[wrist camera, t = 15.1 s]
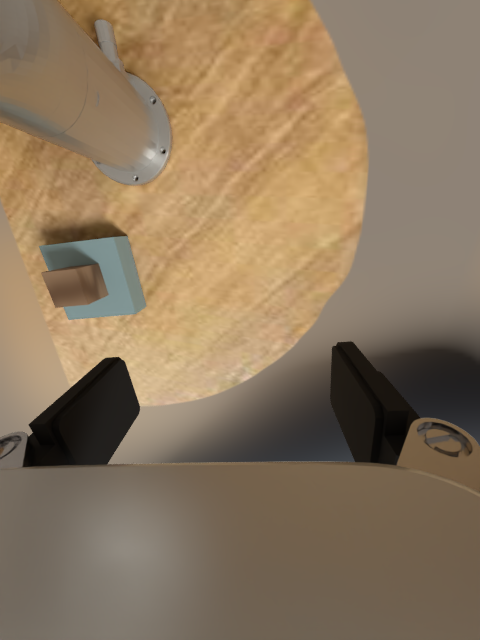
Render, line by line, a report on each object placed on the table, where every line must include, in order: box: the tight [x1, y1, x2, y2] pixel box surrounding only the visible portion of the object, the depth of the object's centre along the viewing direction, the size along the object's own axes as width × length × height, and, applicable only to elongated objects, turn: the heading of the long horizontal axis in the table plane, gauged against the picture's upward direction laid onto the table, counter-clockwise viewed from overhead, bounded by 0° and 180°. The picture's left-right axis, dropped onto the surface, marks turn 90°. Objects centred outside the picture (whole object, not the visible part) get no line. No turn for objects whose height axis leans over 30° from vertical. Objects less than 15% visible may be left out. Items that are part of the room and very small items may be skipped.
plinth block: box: [39, 236, 146, 320], centre depth 39 cm, size 12×12×4 cm
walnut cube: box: [41, 263, 109, 308], centre depth 35 cm, size 5×5×5 cm
